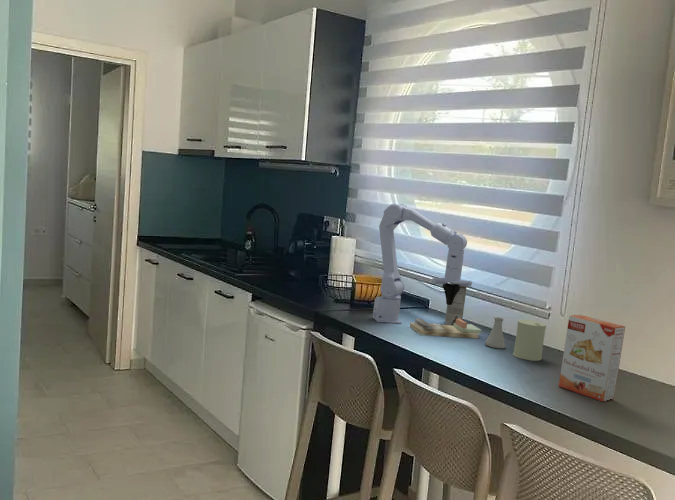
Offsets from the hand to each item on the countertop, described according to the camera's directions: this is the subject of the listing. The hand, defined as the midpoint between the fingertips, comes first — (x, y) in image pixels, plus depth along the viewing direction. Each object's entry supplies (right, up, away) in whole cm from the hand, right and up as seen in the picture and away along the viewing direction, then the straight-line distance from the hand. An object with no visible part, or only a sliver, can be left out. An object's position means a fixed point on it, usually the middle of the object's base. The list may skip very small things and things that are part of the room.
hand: (448, 304), depth 252 cm
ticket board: (-2, -10, 0) cm, 10 cm away
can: (+22, -16, -23) cm, 36 cm away
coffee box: (+4, -9, +16) cm, 19 cm away
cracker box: (+28, -20, -59) cm, 69 cm away
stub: (+7, -9, +2) cm, 12 cm away
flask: (+14, -14, -13) cm, 23 cm away
